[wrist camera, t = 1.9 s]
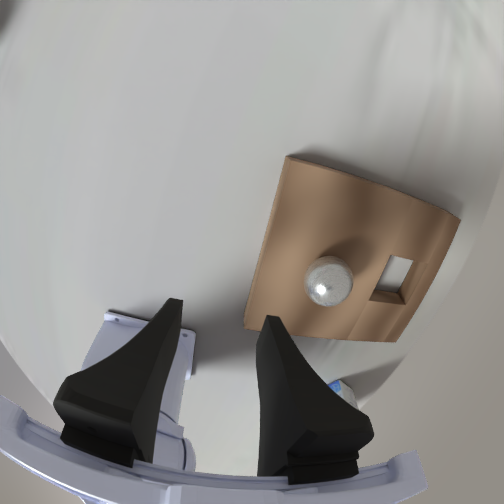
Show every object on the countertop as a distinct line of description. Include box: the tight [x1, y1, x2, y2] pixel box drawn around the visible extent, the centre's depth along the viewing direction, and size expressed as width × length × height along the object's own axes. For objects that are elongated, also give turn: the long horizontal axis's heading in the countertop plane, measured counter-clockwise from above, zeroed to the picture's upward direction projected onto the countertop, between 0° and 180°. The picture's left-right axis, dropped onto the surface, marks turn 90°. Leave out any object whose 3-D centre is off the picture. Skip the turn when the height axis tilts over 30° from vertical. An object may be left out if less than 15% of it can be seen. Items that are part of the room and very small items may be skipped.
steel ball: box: [304, 256, 354, 307], centre depth 18 cm, size 4×4×4 cm
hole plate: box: [244, 156, 461, 342], centre depth 21 cm, size 16×14×2 cm
